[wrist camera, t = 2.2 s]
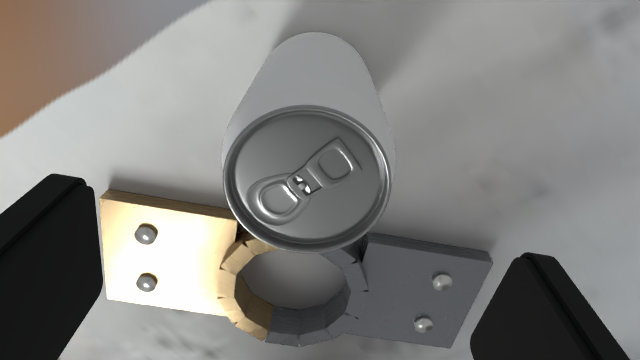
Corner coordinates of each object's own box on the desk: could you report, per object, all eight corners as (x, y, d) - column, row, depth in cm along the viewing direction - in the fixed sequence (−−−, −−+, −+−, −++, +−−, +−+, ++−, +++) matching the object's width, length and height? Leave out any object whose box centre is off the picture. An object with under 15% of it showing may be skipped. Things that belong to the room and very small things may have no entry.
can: (237, 75, 24) (167, 167, 13) (327, 4, 22) (330, 46, 11) (304, 157, 26) (290, 289, 16) (390, 99, 24) (440, 206, 14)
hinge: (443, 342, 34) (451, 368, 32) (114, 294, 32) (99, 318, 30) (491, 244, 29) (504, 267, 27) (107, 180, 27) (88, 199, 25)
